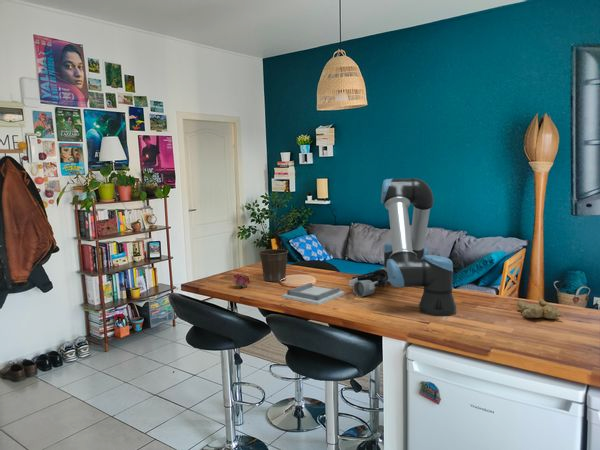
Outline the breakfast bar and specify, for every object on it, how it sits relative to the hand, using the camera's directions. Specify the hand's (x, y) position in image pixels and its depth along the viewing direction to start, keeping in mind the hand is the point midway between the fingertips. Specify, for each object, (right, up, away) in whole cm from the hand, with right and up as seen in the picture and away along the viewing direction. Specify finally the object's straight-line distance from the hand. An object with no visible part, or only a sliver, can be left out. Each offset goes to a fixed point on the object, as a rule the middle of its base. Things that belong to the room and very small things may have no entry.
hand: (359, 285), depth 212 cm
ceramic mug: (+2, -6, +5) cm, 8 cm away
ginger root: (+67, -9, -32) cm, 75 cm away
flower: (-59, -5, +24) cm, 63 cm away
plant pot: (-43, -2, +39) cm, 58 cm away
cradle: (-22, -6, +5) cm, 23 cm away
